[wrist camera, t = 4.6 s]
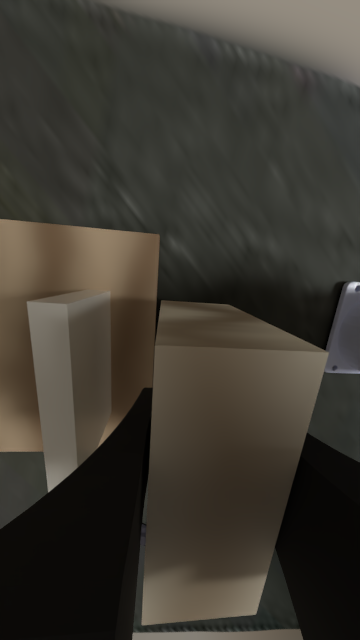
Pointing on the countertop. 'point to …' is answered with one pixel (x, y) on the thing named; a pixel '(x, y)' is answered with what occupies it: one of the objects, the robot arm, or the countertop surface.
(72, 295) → the tile
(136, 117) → the countertop surface
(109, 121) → the countertop surface
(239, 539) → the tan mottled block
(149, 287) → the cork mat
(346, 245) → the countertop surface
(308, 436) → the robot arm
